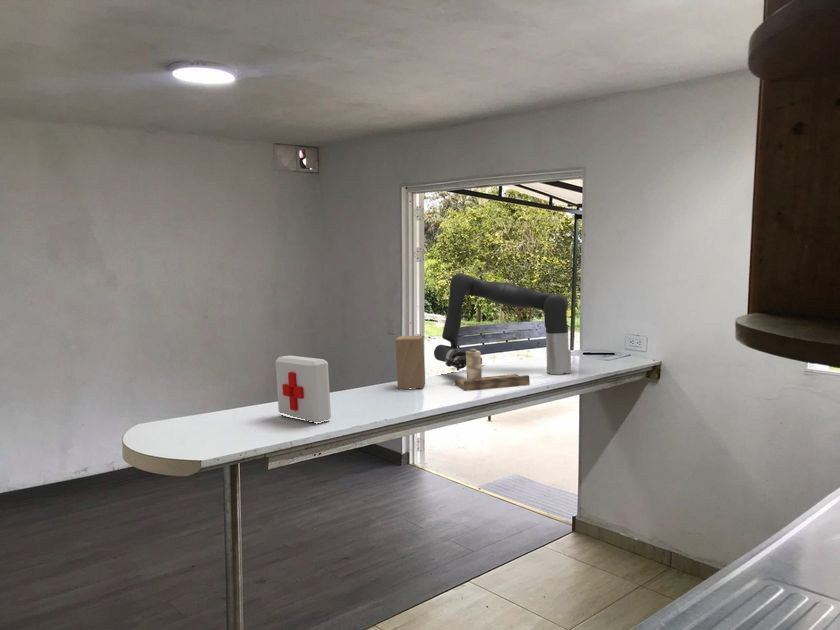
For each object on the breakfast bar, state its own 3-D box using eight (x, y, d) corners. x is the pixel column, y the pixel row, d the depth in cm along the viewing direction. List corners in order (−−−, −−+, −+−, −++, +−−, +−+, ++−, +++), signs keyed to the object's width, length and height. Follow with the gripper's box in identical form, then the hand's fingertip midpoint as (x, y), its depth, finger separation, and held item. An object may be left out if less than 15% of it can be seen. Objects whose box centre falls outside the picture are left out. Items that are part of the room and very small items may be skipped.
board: (516, 379, 269) (515, 370, 268) (529, 384, 255) (529, 375, 255) (454, 384, 263) (454, 375, 262) (465, 390, 249) (465, 381, 249)
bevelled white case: (274, 417, 219) (270, 357, 217) (294, 412, 225) (291, 354, 223) (312, 426, 204) (308, 362, 203) (333, 421, 210) (329, 358, 208)
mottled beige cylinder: (477, 380, 257) (476, 347, 256) (481, 382, 253) (480, 349, 252) (467, 381, 256) (465, 348, 255) (470, 383, 252) (469, 350, 251)
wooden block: (425, 384, 266) (423, 335, 265) (423, 389, 256) (420, 338, 255) (400, 385, 267) (398, 336, 266) (397, 389, 257) (395, 339, 256)
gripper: (440, 350, 273) (451, 355, 257) (472, 348, 276) (485, 353, 261) (440, 368, 274) (452, 374, 258) (473, 366, 277) (486, 371, 261)
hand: (469, 363), depth 259 cm, fingers open, 8 cm apart
